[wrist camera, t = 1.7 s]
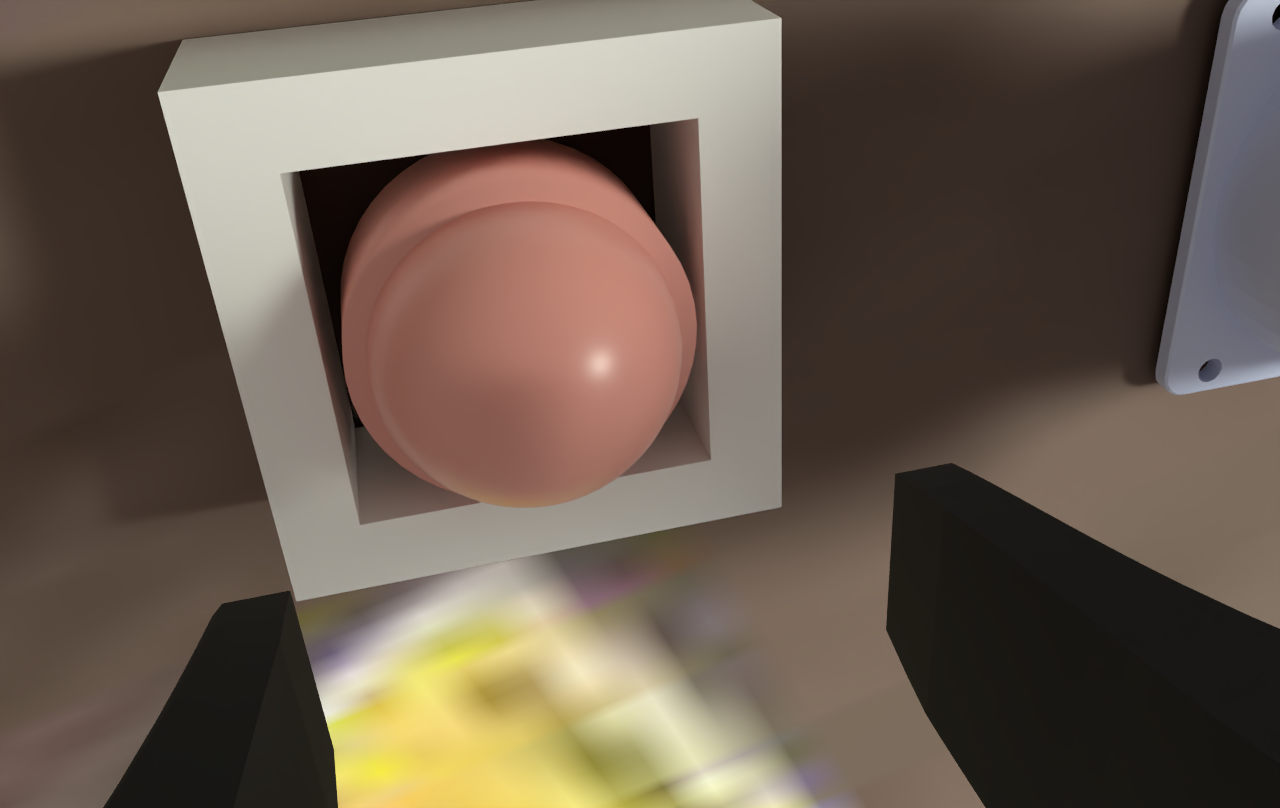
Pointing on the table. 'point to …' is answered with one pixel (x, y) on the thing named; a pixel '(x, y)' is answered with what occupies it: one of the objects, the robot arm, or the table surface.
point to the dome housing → (469, 118)
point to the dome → (514, 323)
